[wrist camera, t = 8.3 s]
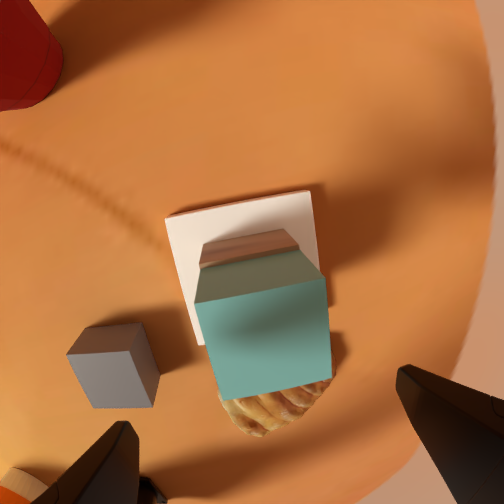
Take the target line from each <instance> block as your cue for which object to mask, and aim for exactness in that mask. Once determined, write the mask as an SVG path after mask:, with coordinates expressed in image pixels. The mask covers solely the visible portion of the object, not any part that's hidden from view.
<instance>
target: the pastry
mask: <svg viewBox="0 0 504 504" xmlns="http://www.w3.org/2000/svg"><path fill="white" fill-rule="evenodd" d="M331 368H332V378H329V379H325V380H322V381H318V382H314V383H310V384H306V385H302V386H297V387H293V388H289V389H284V390H280V391H275V392H270V393H265V394H260V395H255V396H249V397H243V398H238V399H231V400H225V401H223V399H222V396H221V393H220V390H219V389H218V396H219V399H220V401H221V403H222V406H223V407H224V409H225V410H226V411H227V412H228V413H229V416H230V418H231V420H232V421H233V423H235V425H237V426H238V427H239V428H240V429H241V430H242V431H244V432H245V433H246V434H248V435H254V436H257V437H264V436H265V435H268V434H269V433H270V432H271V431H273V430H275V429H278V428H281V427H283V426H286V425H288V424H289V423H290V422H292V421H294V420H297V419H299V418H301V417H302V416H303V414H304V413H305V412H306V411H307V410H308V409H309V408H310V407H311V406H312V405H313V404H314V402H315V401H316V399H318V398H319V397H320V396H321V395H322V394H323V392H324V391H325V389H326V388H327V387H328V386H329V385H330V382H331V381H332V379H333V378H334V377H335V375H336V359H335V357H334V354H333V353H332V351H331Z"/></svg>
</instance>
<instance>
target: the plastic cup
mask: <svg viewBox="0 0 504 504" xmlns="http://www.w3.org/2000/svg"><path fill="white" fill-rule="evenodd" d="M63 61H64V60H63V53H62V49H61V46H60V44H59V43H58V41H57V40H56V39H55V37H54V36H53V35H52V34H51V33H50V31H49V28H48V26H47V25H46V23H45V22H44V21H43V19H42V18H41V17H40V15H39V14H38V12H37V11H36V10H35V8H34V7H33V5H32V4H31V2H30V1H29V0H0V112H1V111H6V110H17V109H24V108H28V107H32V106H33V105H35V104H37V103H38V102H40V101H42V100H43V99H44V98H45V97H46V96H47V95H48V93H49V92H50V91H51V90H52V89H53V88H54V86H55V84H56V82H57V80H58V78H59V76H60V74H61V70H62V65H63Z"/></svg>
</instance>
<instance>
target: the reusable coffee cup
mask: <svg viewBox="0 0 504 504" xmlns="http://www.w3.org/2000/svg"><path fill="white" fill-rule="evenodd" d="M48 488H49V487H48V486H46V485H45V484H44V483H43V482H41V481H40V480H38V479H37V478H35V477H34V476H32V475H30V474H28V473H26V472H24V471H22V470H20V469H17V468H10V469H9V470H8V471H7V473H6V474H5V475H4V477H3V478H2V480H1V481H0V504H30V503H31V502H32V501H33V500H35V499H36V498H37V497H38V496H40V495H41V494H42V493H43V492H44V491H45V490H46V489H48Z"/></svg>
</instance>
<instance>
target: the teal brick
mask: <svg viewBox="0 0 504 504" xmlns="http://www.w3.org/2000/svg"><path fill="white" fill-rule="evenodd" d="M194 306H195V310H196V314H197V317H198V321H199V324H200V328H201V331H202V335H203V338H204V342H205V345H206V348H207V352H208V355H209V358H210V362H211V365H212V368H213V371H214V375H215V378H216V381H217V384H218V387H219V390H220V393H221V396H222V399H223V401H225V400H231V399H238V398H243V397H249V396H255V395H260V394H265V393H270V392H275V391H280V390H284V389H289V388H293V387H297V386H302V385H306V384H310V383H314V382H318V381H322V380H325V379H329V378H332V368H331V347H330V330H329V315H328V302H327V290H326V278H325V277H324V276H323V274H322V273H321V272H320V271H319V270H318V269H317V268H316V267H315V266H314V264H313V263H312V262H311V261H310V260H309V259H308V258H307V257H306V256H305V255H304V253H303V252H302V251H301V250H296V251H291V252H286V253H281V254H276V255H271V256H266V257H260V258H255V259H250V260H245V261H240V262H235V263H230V264H224V265H219V266H214V267H209V268H204V269H200V274H199V279H198V284H197V289H196V295H195V300H194Z"/></svg>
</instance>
